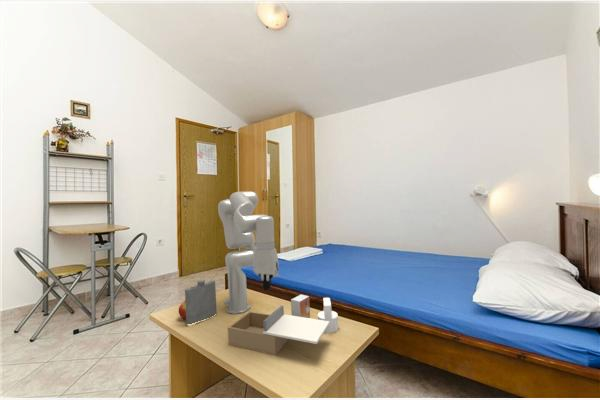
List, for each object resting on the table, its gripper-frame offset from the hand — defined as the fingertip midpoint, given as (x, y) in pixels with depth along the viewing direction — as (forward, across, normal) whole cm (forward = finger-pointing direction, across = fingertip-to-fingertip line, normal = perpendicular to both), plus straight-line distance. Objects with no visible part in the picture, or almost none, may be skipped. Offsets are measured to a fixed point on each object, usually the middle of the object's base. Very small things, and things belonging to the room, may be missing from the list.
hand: (267, 289), depth 110 cm
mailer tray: (+22, -3, 0) cm, 22 cm away
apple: (+23, -50, +4) cm, 55 cm away
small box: (+22, +6, +22) cm, 31 cm away
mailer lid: (+14, +13, 0) cm, 20 cm away
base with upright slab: (+22, +21, +18) cm, 35 cm away
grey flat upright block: (+23, -41, +6) cm, 47 cm away
